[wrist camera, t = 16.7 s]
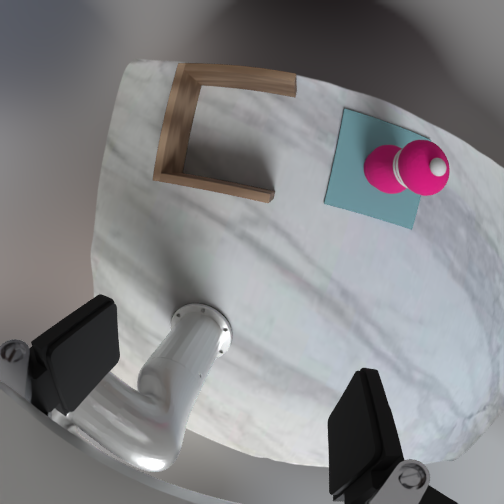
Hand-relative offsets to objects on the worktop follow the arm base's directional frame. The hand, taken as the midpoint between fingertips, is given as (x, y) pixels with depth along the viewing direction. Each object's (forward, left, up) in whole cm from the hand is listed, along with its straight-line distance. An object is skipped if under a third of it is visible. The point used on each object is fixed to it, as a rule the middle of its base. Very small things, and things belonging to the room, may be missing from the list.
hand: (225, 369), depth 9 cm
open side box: (+12, +10, -36) cm, 39 cm away
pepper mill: (+12, -14, -36) cm, 40 cm away
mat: (+12, -14, -36) cm, 41 cm away
